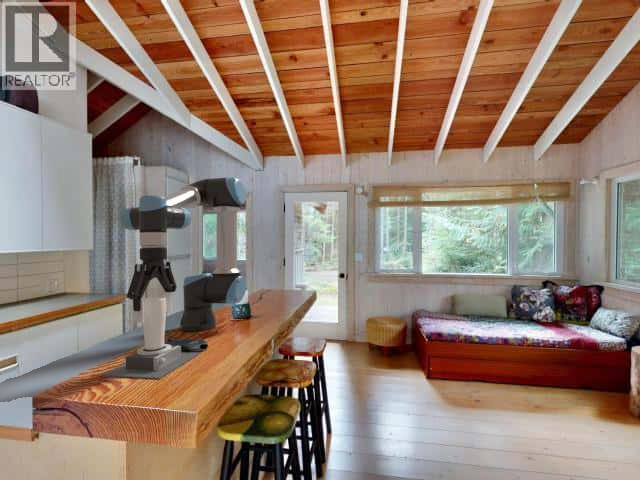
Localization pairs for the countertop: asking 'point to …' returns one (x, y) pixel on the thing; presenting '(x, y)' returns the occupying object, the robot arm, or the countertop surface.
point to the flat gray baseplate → (152, 363)
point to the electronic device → (187, 344)
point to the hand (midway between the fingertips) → (154, 317)
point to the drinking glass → (154, 322)
